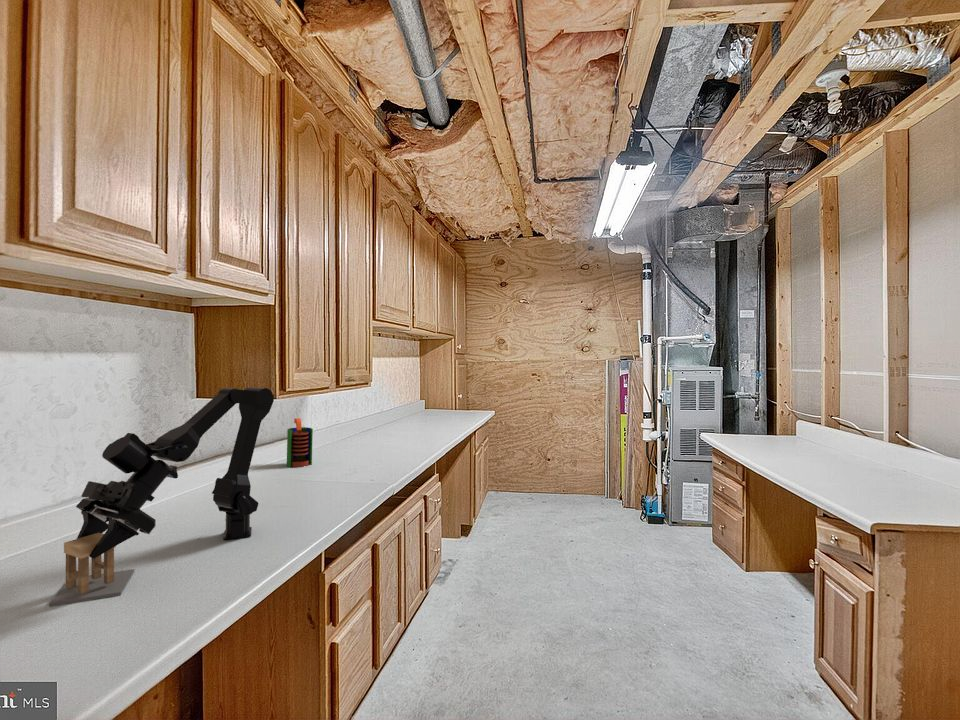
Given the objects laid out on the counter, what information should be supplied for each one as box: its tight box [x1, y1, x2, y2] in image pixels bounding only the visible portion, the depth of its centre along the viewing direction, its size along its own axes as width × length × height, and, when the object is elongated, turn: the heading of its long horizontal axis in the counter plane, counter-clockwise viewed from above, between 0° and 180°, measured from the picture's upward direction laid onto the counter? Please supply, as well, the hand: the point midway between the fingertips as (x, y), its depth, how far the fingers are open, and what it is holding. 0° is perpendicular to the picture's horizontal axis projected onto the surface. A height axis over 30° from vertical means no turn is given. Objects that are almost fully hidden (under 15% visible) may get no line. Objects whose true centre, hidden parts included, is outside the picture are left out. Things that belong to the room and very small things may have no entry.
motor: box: [286, 417, 314, 468], centre depth 206 cm, size 10×9×20 cm
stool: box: [63, 533, 116, 594], centre depth 95 cm, size 6×6×9 cm
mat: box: [48, 568, 135, 607], centre depth 97 cm, size 11×11×1 cm
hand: (82, 554), depth 94 cm, fingers closed on stool, 6 cm apart
